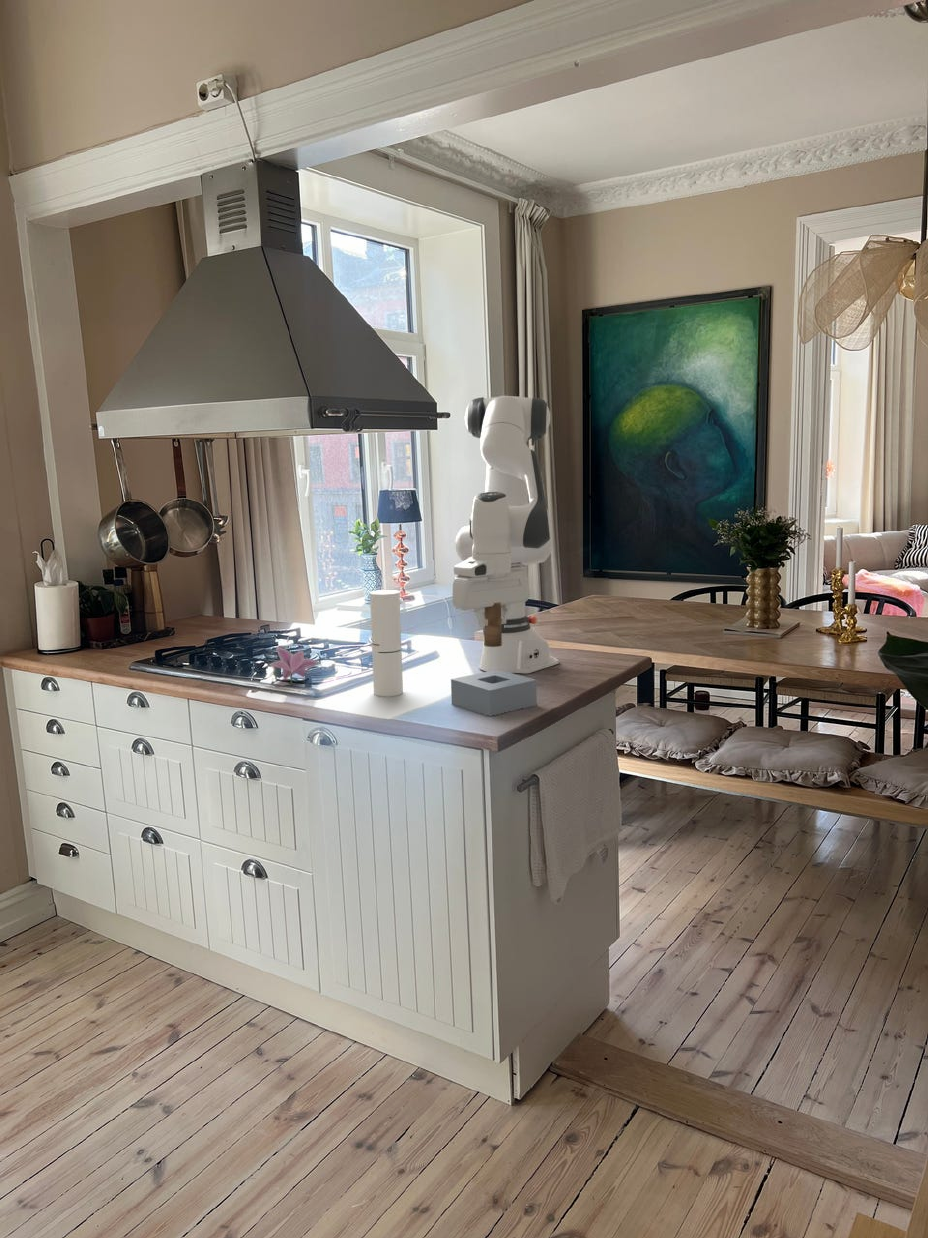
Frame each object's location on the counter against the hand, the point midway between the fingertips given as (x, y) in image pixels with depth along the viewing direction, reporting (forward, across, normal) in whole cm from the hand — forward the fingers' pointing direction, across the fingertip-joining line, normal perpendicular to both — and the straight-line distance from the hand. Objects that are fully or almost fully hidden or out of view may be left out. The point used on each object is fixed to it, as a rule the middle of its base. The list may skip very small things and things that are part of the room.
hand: (492, 625), depth 211 cm
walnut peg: (+5, 0, 0) cm, 5 cm away
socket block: (+19, 0, 0) cm, 19 cm away
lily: (+19, +24, -52) cm, 60 cm away
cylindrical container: (+19, +12, -26) cm, 34 cm away
